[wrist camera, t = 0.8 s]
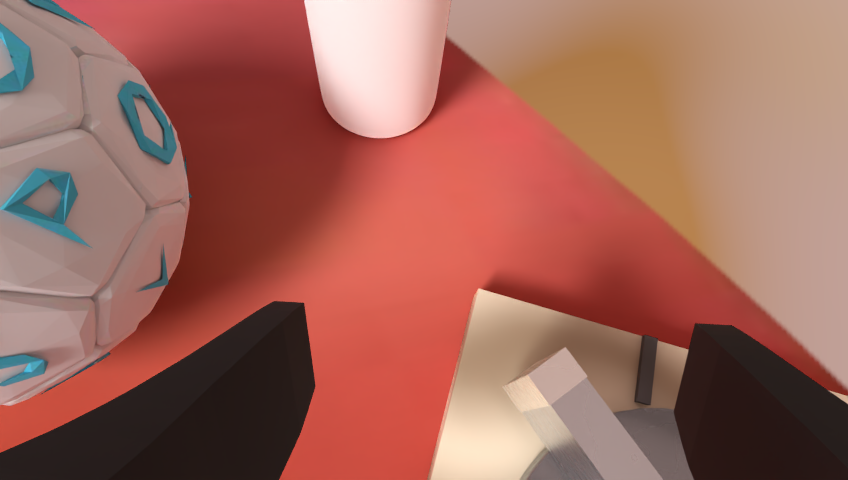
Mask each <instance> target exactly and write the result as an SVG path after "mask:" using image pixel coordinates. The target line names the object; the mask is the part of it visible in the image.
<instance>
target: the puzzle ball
mask: <svg viewBox="0 0 848 480" xmlns="http://www.w3.org/2000/svg"><path fill="white" fill-rule="evenodd" d="M93 29H94V28H93ZM93 29H92V27H91V26H89V25H87V24H86V23H84V22H83V21H81V20H80V19H78V18H76V17H75V16H73V15H72V14H70V13H69V12H67V11H65V10H64V9H62V8H61V7H59V5H58V4H56V3H55V2H53V1H52V0H0V405H9V406H11V405H14V404H17V403H19V402H22V401H24V400H27V399H29V398H31V397H33V396H35V395H37V394H39V393H41V392H42V391H44V390H46V389H47V390H46V391H48V390H50V389H52V388H53V387H55V386H57V385H59V384H61V383H62V382H64V381H66V380H68V379H69V378H71V377H73V376H75V375H76V374H78V373H80V372H82V371H84V370H85V369H87V368H89V367H91V366H92V365H94V364H96V363H98V362H99V361H101V360H103V359H104V358H105V357H107V356H108V355H110V353H109V351H110V350H111V349H113V348H114V347H115V346H117V345H118V344H119V343H120V342H122V341H123V340H124V339H126V338H127V337H128V336H129V335H131V334H132V333H133V332H135V331H136V329H137V326H138V324H139V322H140V321H141V320H142V319H144V318H145V317H146V316H147V315H148V314H150V312H151V311H152V309H153V308H154V306H155V304H156V302H157V301H158V299H159V297H160V295H161V293H162V292H163V290H164V288H165V286H166V285H169V283H168V281H169V279H170V277H171V276H172V274H173V272H174V270H175V269H176V267H177V265H178V263H179V260H180V255H181V248H182V247H183V241H184V235H185V229H186V223H187V217H188V211H189V205H190V203H189V198H190V197H192V196H191V195H190V193H189V191H188V181H187V169H186V155H185V165H184V161H183V156H182V151H181V146H180V142H179V141H178V137H177V132H176V130H175V128H174V127H173V125H172V123H171V121H170V119H169V117H168V116H167V114H166V113H165V111H164V110H163V108H162V106H161V105H160V103H159V102H158V100H157V98H156V97H155V95H154V94H153V92H152V90H151V89H150V85H149V86H148V84H147V82H146V81H145V79H144V78H143V76H142V75H141V73H140V71H139V70H138V69H137V68H136V67H135V66H133V65H132V64H131V63H130V62H129V61H128V60H127V59H126V57H125V56H124V55H123V54H122V53H121V52H119V51H118V50H117V49H116V48H115V47H113V46H112V45H111V44H110V43H109V42H107V41H106V40H105V39H104V38H103V37H102V36H100V35H99V34H98V33H97V32H96V31H94V30H93ZM46 391H44V392H46ZM44 392H43V393H44ZM43 393H42V394H43Z"/></svg>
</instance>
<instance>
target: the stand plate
mask: <svg viewBox="0 0 848 480" xmlns="http://www.w3.org/2000/svg"><path fill="white" fill-rule="evenodd" d="M564 347H566V348H567V350H568V351H569V352H570V354H571V355H572V356H573V358H574V359H575V360H576V362H577V363H578V364H579V365H580V367H581V368H582V369H583V371H584V372H585V373H586V375H587V376H588V377H586V378H587V379H588V381H589V382H590V383H591V385H592V386H593V387H594V389H595V390H596V391H597V393H598V394H599V395H600V396H601V398H602V399H603V400H604V402H605V403H606V404H607V406H608V407H609V408H610V410H611V411H612V412H619V411H625V410H632V409H639V408H668V409H674V408H675V404H676V400H677V396H678V392H679V387H680V383H681V379H682V375H683V371H684V367H685V363H686V359H687V355H688V349H685V348H681V347H678V346H674V345H671V344H668V343H664V342H661V341H658V338H654V337H651V336H647V335H643V336H640V335H637V334H633V333H630V332H626V331H623V330H620V329H616V328H613V327H609V326H606V325H602V324H599V323H596V322H592V321H589V320H585V319H582V318H578V317H575V316H572V315H568V314H565V313H561V312H558V311H554V310H551V309H547V308H544V307H541V306H537V305H534V304H530V303H527V302H523V301H520V300H517V299H513V298H510V297H506V296H503V295H499V294H496V293H493V292H489V291H486V290H482V289H478V290H477V292H476V294H475V295H474V297H473V301H472V305H471V309H470V313H469V317H468V321H467V325H466V329H465V333H464V337H463V341H462V345H461V348H460V352H459V356H458V360H457V364H456V368H455V372H454V376H453V380H452V384H451V388H450V392H449V396H448V400H447V404H446V408H445V412H444V416H443V420H442V424H441V427H440V431H439V435H438V439H437V443H436V447H435V451H434V455H433V459H432V463H431V467H430V471H429V475H428V479H427V480H520V479H521V477H522V475H523V474H524V472H525V471H526V469H527V468H528V467H529V466H530V464H531V463H532V462H533V461H534V459H535V458H536V457H537V456H538V455H539V453H541V452H542V451H543V450H544V449H545V448H546V446H545V445H544V444H543V442H542V441H541V439H540V438H539V436H538V435H537V434H536V432H535V431H534V429H533V428H532V426H531V425H530V424H529V422H528V421H527V419H526V418H525V416H524V415H523V414H522V412H519V410H518V409H517V408H516V406H515V405H514V403H513V402H512V400H511V399H510V398H509V396H508V395H507V393H506V392H505V390H504V389H503V388H502V387H503V386H504V385H506V384H507V383H508V382H510V381H511V380H512V379H514V378H515V377H516V376H518V375H519V374H521V373H522V372H523V371H525V370H526V369H527V368H529V367H530V366H531V365H533V364H534V363H536V362H538V361H540V360H542V359H544V358H546V357H547V356H549V355H551V354H553V353H555V352H557V351H559V350H561V349H563V348H564ZM828 391H829V390H828ZM830 392H831V393H833V394H834V395H835V396H837V397H838V398H840V399H841V400H843V401H844V402H846V403H847V404H848V396H846V395H842V394H839V393H836V392H832V391H830Z"/></svg>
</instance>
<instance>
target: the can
mask: <svg viewBox="0 0 848 480" xmlns="http://www.w3.org/2000/svg"><path fill="white" fill-rule="evenodd" d="M304 2H305V7H306V13H307V19H308V24H309V30H310V35H311V41H312V47H313V52H314V58H315V63H316V69H317V74H318V79H319V85H320V90H321V94H322V99H323V102H324V105H325V107H326V109H327V111H328V112H329V114H330V115H331V117H332V118H333V119H334V120H335V121H336V122H337V123H338V124H340V125H341V126H342V127H344V128H345V129H347V130H349V131H351V132H353V133H355V134H358V135H361V136H365V137H370V138H390V137H395V136H399V135H402V134H405V133H407V132H409V131H411V130H413V129H415V128H416V127H418V126H419V125H420V124H421V123H422V122H423V121H424V120H425V119H426V118H427V117H428V115H429V114H430V112H431V110H432V108H433V106H434V103H435V99H436V94H437V89H438V83H439V76H440V70H441V64H442V57H443V51H444V45H445V38H446V32H447V25H448V18H449V11H450V5H451V0H304Z"/></svg>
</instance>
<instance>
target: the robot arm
mask: <svg viewBox="0 0 848 480" xmlns="http://www.w3.org/2000/svg"><path fill="white" fill-rule="evenodd" d="M314 389H315V379H314V372H313V365H312V358H311V350H310V343H309V336H308V329H307V322H306V314H305V307H304V303H297V302H278V301H274V302H272V303H270V304H268V305H266V306H265V307H263V308H261V309H260V310H258V311H256V312H255V313H253V314H252V315H250V316H249V317H247V318H245V319H244V320H242V321H241V322H239V323H238V324H236V325H235V326H233V327H232V328H230V329H229V330H227V331H226V332H224V333H223V334H221V335H219V336H218V337H216V338H215V339H213V340H212V341H210V342H209V343H207V344H205V345H204V346H202V347H201V348H199V349H198V350H196V351H195V352H193V353H192V354H190V355H188V356H187V357H185V358H184V359H182V360H180V361H179V362H177V363H175V364H174V365H172V366H170V367H169V368H167V369H165V370H163V371H162V372H160V373H158V374H157V375H155V376H153V377H152V378H150V379H148V380H147V381H145V382H143V383H142V384H140V385H138V386H137V387H135V388H133V389H131V390H130V391H128V392H126V393H124V394H122V395H121V396H119V397H117V398H115V399H113V400H111V401H109V402H108V403H106V404H104V405H102V406H100V407H98V408H96V409H94V410H92V411H90V412H88V413H86V414H84V415H82V416H80V417H78V418H76V419H74V420H72V421H70V422H68V423H66V424H64V425H62V426H60V427H58V428H56V429H54V430H51V431H49V432H47V433H45V434H43V435H40V436H38V437H36V438H33V439H31V440H29V441H26V442H24V443H22V444H20V445H17V446H15V447H13V448H10V449H8V450H6V451H3V452H1V453H0V480H279V478H280V476H281V474H282V472H283V470H284V468H285V466H286V463H287V461H288V459H289V457H290V455H291V453H292V450H293V448H294V446H295V444H296V442H297V439H298V437H299V435H300V433H301V430H302V427H303V424H304V421H305V418H306V415H307V412H308V409H309V405H310V402H311V399H312V395H313V392H314ZM674 416H675V419H676V423H677V427H678V431H679V435H680V439H681V442H682V446H683V449H684V453H685V456H686V460H687V463H688V466H689V469H690V471H691V474H692V476H693V479H694V480H848V404H847V403H846V402H844V401H843V400H841V399H840V398H838V397H837V396H835V395H834V394H833V393H831V392H830V391H828V390H827V389H825V388H824V387H822V386H821V385H819V384H818V383H817V382H815V381H814V380H812V379H811V378H809V377H808V376H806V375H805V374H804V373H802V372H801V371H799V370H798V369H796V368H795V367H794V366H792V365H791V364H789V363H788V362H786V361H785V360H783V359H782V358H781V357H779V356H778V355H776V354H775V353H773V352H772V351H771V350H769V349H768V348H766V347H765V346H763V345H762V344H760V343H759V342H757V341H756V340H754V339H753V338H751V337H750V336H748V335H747V334H745V333H744V332H742V331H740V330H739V329H737V328H735V327H734V326H732V325H714V324H695V326H694V330H693V334H692V338H691V342H690V346H689V350H688V355H687V359H686V363H685V367H684V371H683V375H682V379H681V383H680V387H679V392H678V396H677V400H676V404H675V408H674Z"/></svg>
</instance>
